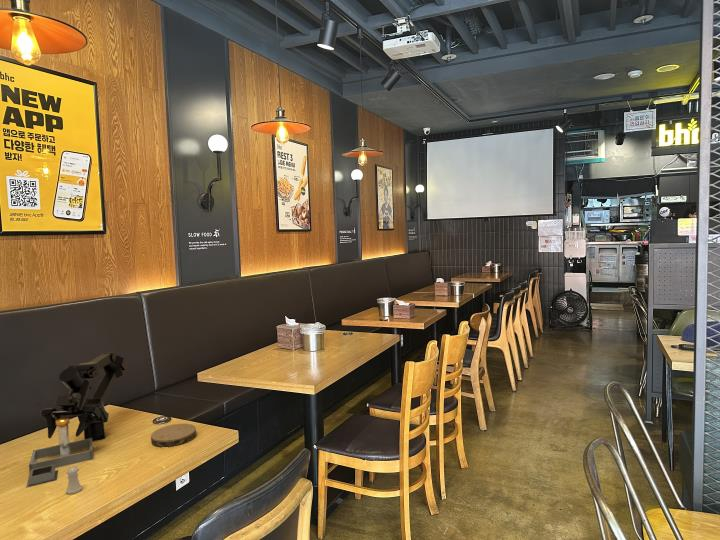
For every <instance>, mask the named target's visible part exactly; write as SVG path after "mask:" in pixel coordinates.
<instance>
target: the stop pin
mask: <svg viewBox="0 0 720 540" xmlns="http://www.w3.org/2000/svg"><path fill="white" fill-rule="evenodd" d="M69 424H70V416H65V417H60V418H59V419H57V420H56V426H57V432H58V433H57V434H58V445H59V446H60V454H59V457H62V456H67V455H71V452H70V442H71V441H70V433H69V432H70V431H69V430H70V429H69Z"/></svg>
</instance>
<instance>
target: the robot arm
mask: <svg viewBox="0 0 720 540" xmlns="http://www.w3.org/2000/svg"><path fill="white" fill-rule="evenodd" d="M128 365H129V364H128V362H127V361H126V359H125V358H124V357H122V356H121V355H118V354H117V353H116V352H114V351H111V352H109V351H108V352H102V353H101V354H100V355H99V356H97V357H96V358H93V359H92V360H91V361H89V362H83V363H78V364H76V365H75V364H74V365H73V364H70V365H68V367H67V368H65V369H63V370H62V371H61V373H60V374H59V375H58V377H59V380H60V382H61V383H62V384H64V386H66V388H67V389H69V393H67V394H66V395H57V396H56V399H55V406H59V408H60V409H61V410H58V409H56V408H55V407H46V408H43V409H41V410H40V414H39V416H40V417H41V419H43V420H44V421H46V424H47V437H48V439H52V438H53V435H54V434H55V431H56V429H57V428H58V426H56V420H57V419H59V418H64V417H77V419H78V421H79V424H78V426H77V429H76V432H75V437H77V438H79V436H80V435H81V434H82V433H83V437H84V439H89V438H92V442H94V441H100V440H104V439H106V432H105V423H107V422H109V417H110V416H109V415H110V414H109V413H108V412H107V410H106V409H105V406H104V405H105V402H106V400H107V398H108V397H109V394H110V392H111V390H112V388H113V386H114V385H115V383H116V381H117V379H119V378H120V377H122V376H124V374H125V373H126V371H127V370H128V368H129V366H128ZM102 369H103V371H104V375H103V377H102V379H101V380H100V382H99V383H98V386H97V388H96V390H95V391H94V393H93V395H92V397H91V398H87V396H88V393H89V390H92V389H93V386H92V385H91V381H89V380H94V379H96V378H97V376H98V375H99V374H100V372H99V371H100V370H102ZM84 439H83V440H84Z"/></svg>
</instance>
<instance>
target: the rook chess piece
mask: <svg viewBox="0 0 720 540" xmlns="http://www.w3.org/2000/svg"><path fill="white" fill-rule="evenodd" d="M79 471H80V470H79V468H78V466H77V465H76V466H75V465H74V466H72V467H69V468H67V470H66V472H65V473H66V474H67V479H68V485H67V487H66V490H65V494H68V495H74V494H77V493H79V492H81V491H82V489H83V486H82V485H81V483H80V480H79V473H78V472H79Z"/></svg>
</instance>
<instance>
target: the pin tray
mask: <svg viewBox="0 0 720 540" xmlns="http://www.w3.org/2000/svg"><path fill="white" fill-rule="evenodd" d="M69 442H70V454H71V453H72V452H74V451H75V452H76V451H79V450H83V449H88V448H89V450H86V451H82V452H78V453H73V454H71V455H67V456H62V457H60V456H59V457H55V458H51V459H45V460H41V461H37V460H38V459H43V458H47V457H52V456H57V455H60V446H59V444H57V445H51V446H48V447H42V448H38V449H34V450H32V452H31V457H30V460H29V464H28V469H29V471H30V470H31V469H36V468H40V467H45V466H49V465H53V464H55V469H56V468H62V467H65V466H71V465H75V464H79V463H83V462H86V461H87V462H88V461H91V460H94V451H93V450H94V447H93V446H94V445H93V442H94V441H92V438H89V439H80V440H75V441H72V442H71V441H69Z"/></svg>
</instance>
